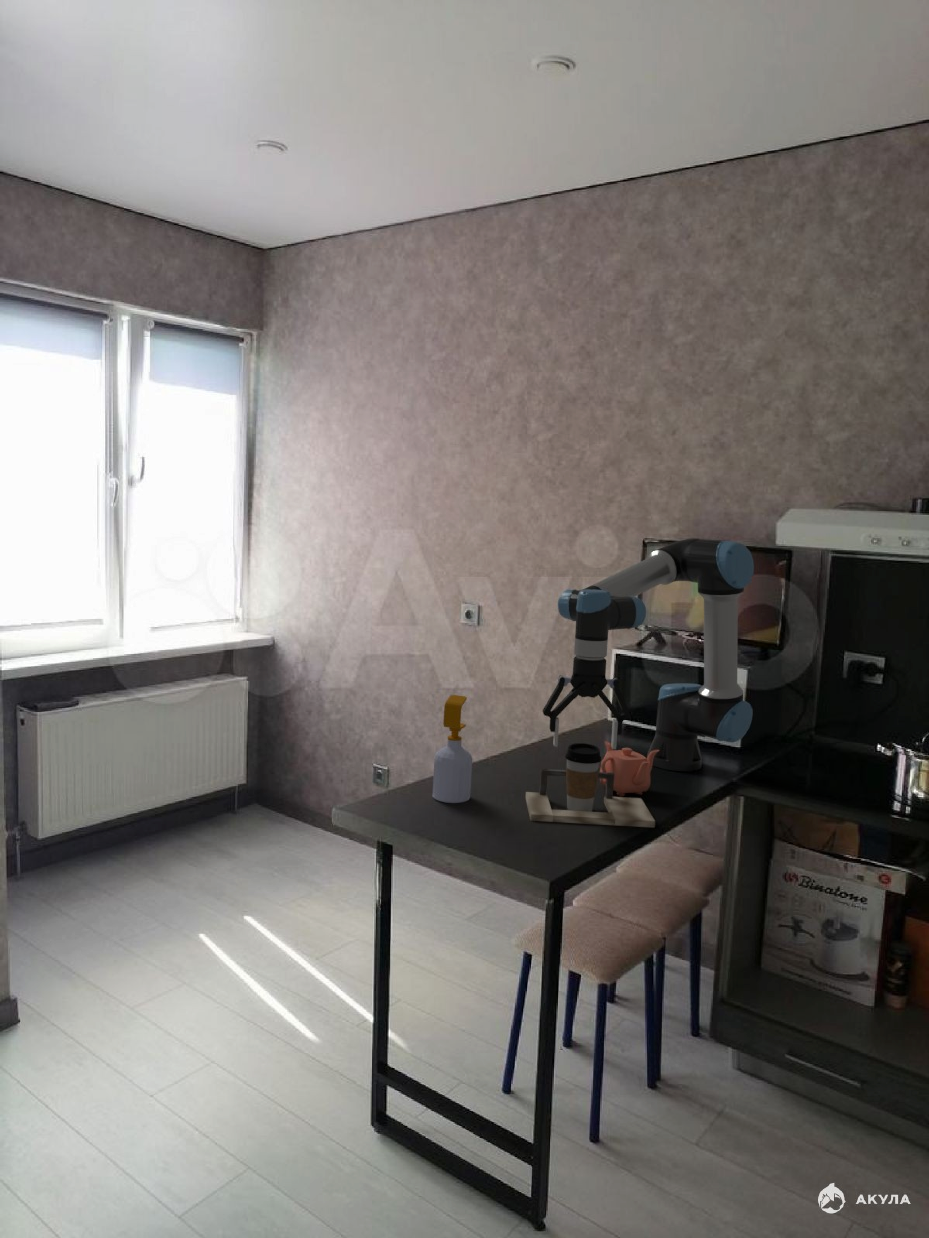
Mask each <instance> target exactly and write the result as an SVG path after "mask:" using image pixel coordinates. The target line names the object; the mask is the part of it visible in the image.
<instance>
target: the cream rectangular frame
mask: <svg viewBox="0 0 929 1238" xmlns="http://www.w3.org/2000/svg"><path fill="white" fill-rule="evenodd" d="M548 776H550V777H551V776H552V777H566V769H553V768H552V769H551V768H540V778H539V780H540V781H539V790H538V791H539V792H531V791H525V801H526V806H527V811H528V815H529V820H530V821H531V822H549V823H568V824H569V823H570V824H582V825H583V824H586V825H600V826H601V825H603V826H605V825H606V826H621V827H639V828H655V827H656V820H655V818H654V817H653V815H652V813H651V812H650V811H649V809H648V807H647V806H646V804H645V802H644V800H643V799H642V798H641V797H626V796H625V797H624V796H613V795H614V790H613V785H614V773H609V772H607V773H606V772H600V771H599V773H598V779H600V778H601V779H607V780H606V786H605V787H606V788H605V795H604V796H603V803H604V806H605V808H606V810H607V812H605V811H604V812H603V811H602V812H601V811H592V812H587V811H569V810H568V809H552V807H551V804H550V803H551V802H550V801H549V800H550V799H549V797H548V796H549V795H548V794H547V790H548V789H547V786H548Z"/></svg>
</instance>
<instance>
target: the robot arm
mask: <svg viewBox="0 0 929 1238" xmlns="http://www.w3.org/2000/svg"><path fill="white" fill-rule="evenodd" d="M754 569H755V566H754V558H753V556H752V553H751V551H750V549H749V548H747V546H746V545H745V544H743V543H741V542H737V541H730V540H723V539H710V538H709V539H705V538H694V537H692V538H686V539H682V540H681V539H680V540H679V541H675V542H672V543H669V544H667V545H664V546H662V547H659V548H658V549H656V550H654V551H651V553H649V555H648V557H647V558H646V559H643V560H642V561H639V562H637V563H636V564H632V565H631V566H629V567H627V568H625V569H623V570H620V571H618V572H616V573H615V574H613V575H610V576H608V577H606V578H604V579H602V580H600V581H598V582H596V583H593V584H591V585H589V586H587V587H584V588H583V589H576V588H575V589H566V590H564V591H563V592H562V593H561V594H560V595H559V596H558V597H559V598H558V601H557V609H558V613H559V615H560V616H561V617H562V618H564V619H567V620H570V621H572V622H575V635H574V636H575V637H574V649H573V654H574V655H575V656H574V657H573V660H572V661H573V665H572V674H571V677H568V676H567V677H566V676H564V675H562V674H561V675H559V676H558V680H557V684H556V686H555V688H554V690H553V691H552V693H551V695H550V696H549V698H548V700H547V702H546V703H545V705H544V707H543V708H542V713H543V714H542V715H543V716H546V717H549V727H548V728H549V731H550V733H553V741H552V743H553V747H555V748H558V746H559V731H560V730H559V728H560V718H559V715H560V714H561V713H562V712H563V711H564V710H565V709H566V708H567V707H568V705H570V704H571V703H572V702H573V701H574V700H575V699H576V698H577V697H578V696H580V697H581V698H587V697H588V698H593V699H594V698H596V697H598V696H599V698H600V699H601V700H602V701H603V702H604V704H605V706H606V707H607V708H608V709H609V710H610V712H611V713H612V715H613V716H614V717H615V718H612V723H611V724H612V725H611V726H612V727H611V741H610V744H611V747H612V749H613V750H617V741H618V735H621V734H622V733H623V731H622V730H623V723H624V721H625V720H630V719H631V718H632V715H631V714H630V711H629V708H628V707H627V703H626V702H625V699H624V697H623V693H622V692H621V690H620V681H619V679H617V677H612V678H609V679H608V678H606V670H607V659H606V657H607V656H608V641H609V631H613V630H616V631H617V630H630V629H634V628H638V627H640V626H641V625H642V624H644V621H646V620H645V619H646V617H647V607H646V605H645V603H644V602H643V600H642V599H641V598H639V597H637V596H639V595H641V594H644V593H645V592H647V591H649V590H652V589H653V588H655V587H657V586H660V585H662V586H663V585H667V586H668V585H669V584H672V583H673V582H689V583H695V584H696V583H697V593H698V594H699V595H700V596H701V598H703V685H701V684H698V683H687V682H686V683H685V682H684V683H683V682H682V683H681V682H680V683H679V682H678V683H667V684H663V685H662V686H661V687H660V689H659V691H658V692H659V693H658V698H657V710H656V722H655V723H656V724H655V725H656V726H655V735H654V738H653V740H652V742H651V745H650V747H649V749H648V750H647V754H646V755H647V756H646V758H647V757H648V755H649V753H650V752H651V751H653V750H659V751H658V752H657V753H656V754H655V756H654V759H653V765H652V767H656V768H660V769H663V770H668V771H677V772H693V770H695V771H698V769H699V770H700V769H701V768H702V765H703V764H702V763H703V760H702V759H703V758H702V755H701V750H700V745H699V742H698V741H699V740H698V737H699V735H701V736H702V737H703V736H704V737H707V738H710V739H714V740H717V741H719V742H726V743H735V742H736V743H737V742H738V741H740V740H741V739H743V737H744V736H746V734H747V731H748V730H749V729H750V727H751V724H752V720H753V711H754V710H753V707H752V705H751V704H750V703H749V702H748V701H747V700H746V701H745V700H744V690H743V689H742V688H741V687H740V686H739V685H738V640H739V639H738V635H739V634H738V631H739V630H738V629H739V628H738V627H739V625H738V619H739V618H738V617H739V616H738V615H739V613H738V611H739V610H738V607H739V605H738V603H739V597H740V596H742V595H743V594H744V592H745V590H744V589H745V588H746V587H748V585H749V584H750V583H751V581H752V577H753V576H754V571H755V570H754ZM568 684H570V685H571V686H572V689H571V690H570V691H569V692H568V693H567V694H566V696H565V697H564V698H563V699H562V700H561V701H560V702H559V703H558V704H557V705H556V706H555V707H554V705H555V704H556V703H557V701H558V699H559V697H560V695H561V693H562V692H563V690H564V687H567V686H568ZM607 685H608V686H609V687H610V689H611V690H613V693H614V695H615V697H616V700H617V702H618V704H619V707H620V709H621V712H622V713H620V712H619V711H618V710H617V708H616V707H615V706H614V704H613V703H612V702H611V700H610V698H608V696H606V694H605V693H604V689H605V688H606V687H607ZM553 707H554V708H553Z"/></svg>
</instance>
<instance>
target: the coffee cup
mask: <svg viewBox="0 0 929 1238" xmlns="http://www.w3.org/2000/svg"><path fill="white" fill-rule="evenodd" d="M566 751H567V752H566V753H565V757H564V758H565V759H566V765H565V770H566V776H565V777H566V778H565V782H566V784H565V785H566V810H569V811H587V812H593V810H594V809H593V808H594V802H595V795H596V791H597V784H598V779H599V778H598V773H599V772H600V768H599V767H600V763H601V762H602V756H601V751H600V748H599V747H598V746H596V745H594V744H590V743H585V742H577V743H576V742H575V743H571V744H570V745H569V746H568V747H567V750H566Z"/></svg>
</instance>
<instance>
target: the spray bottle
mask: <svg viewBox="0 0 929 1238" xmlns="http://www.w3.org/2000/svg"><path fill="white" fill-rule="evenodd" d="M467 700H468V698H467V696H466V695H465V696H464V695H456V694H451V695H450V696H449V697H448V698H447V700H446V701H445V703H444V708H443V727H444V728H448V729H449V730H448V731H449V732H451V735H447V744H446V746H444V747H442V748H440V749H439V750H437V751H436V753H435V754H434V760H433V776H432V777H433V778H432V779H433V781H432V795H431V796H432V798H433V799H434V800H436V801H438V802H441V803H445V804H462V803H465V802H467V801H469V800H470V799H471V789H472V787H471V786H472V774H473V773H472V772H473V770H472V769H473V756H472V754H471V753H470V752H469V751H468V750H467V749H466V748H464V747H463V746H462V741H463V740H462V738H463V737H462V736H461V735H459V732H461V731H462V730H463V729H464V728H466V727H467V725H466V723H462V722H461V719H462V708H463V705H464V704H465V703H466V701H467Z"/></svg>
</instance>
